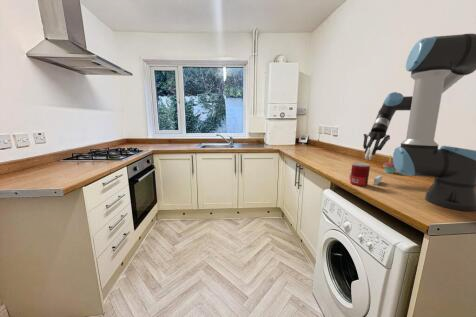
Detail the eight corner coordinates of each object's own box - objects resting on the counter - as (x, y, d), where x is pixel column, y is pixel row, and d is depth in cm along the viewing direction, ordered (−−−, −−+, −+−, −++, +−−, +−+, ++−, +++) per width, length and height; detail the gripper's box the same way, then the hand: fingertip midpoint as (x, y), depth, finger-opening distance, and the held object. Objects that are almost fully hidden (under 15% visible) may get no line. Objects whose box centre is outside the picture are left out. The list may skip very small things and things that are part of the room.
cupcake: (378, 171, 137) (381, 153, 135) (390, 170, 138) (393, 153, 136) (389, 174, 129) (392, 155, 126) (401, 174, 129) (404, 155, 127)
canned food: (369, 187, 103) (372, 166, 101) (351, 185, 105) (354, 165, 103) (364, 182, 110) (367, 163, 108) (348, 181, 112) (350, 162, 110)
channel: (354, 176, 122) (355, 171, 121) (381, 181, 112) (381, 175, 112) (349, 179, 116) (349, 173, 115) (376, 185, 106) (377, 178, 106)
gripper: (395, 132, 117) (383, 164, 109) (367, 131, 127) (354, 160, 119) (394, 123, 112) (382, 155, 104) (365, 122, 122) (352, 152, 114)
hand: (367, 158), depth 111 cm, fingers closed
